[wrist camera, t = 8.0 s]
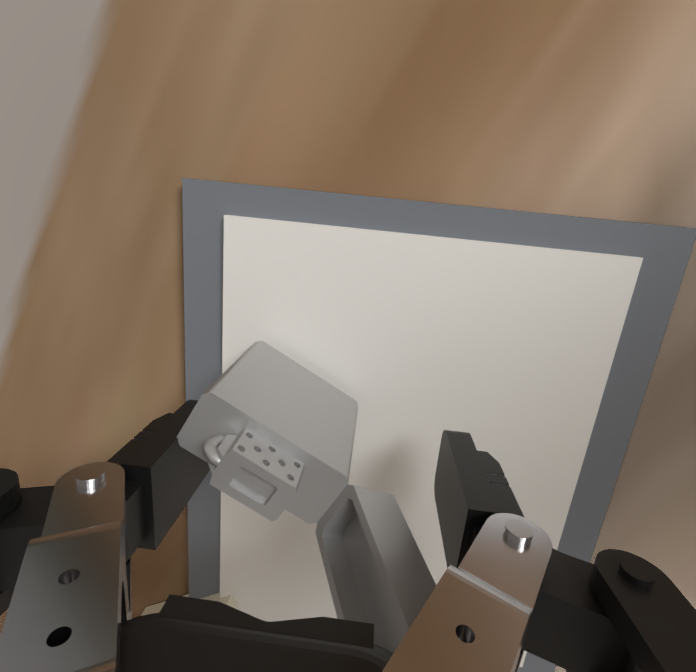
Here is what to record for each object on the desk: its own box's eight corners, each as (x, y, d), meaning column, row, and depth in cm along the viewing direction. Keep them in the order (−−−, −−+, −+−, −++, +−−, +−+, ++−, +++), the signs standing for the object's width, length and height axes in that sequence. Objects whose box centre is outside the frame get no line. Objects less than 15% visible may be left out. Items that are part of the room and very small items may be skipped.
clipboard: (687, 228, 13) (730, 230, 11) (541, 686, 19) (555, 731, 17) (189, 179, 14) (163, 174, 12) (194, 630, 20) (177, 668, 18)
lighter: (233, 377, 14) (62, 562, 7) (257, 337, 14) (104, 488, 6) (402, 483, 15) (423, 764, 7) (431, 449, 15) (485, 710, 7)
